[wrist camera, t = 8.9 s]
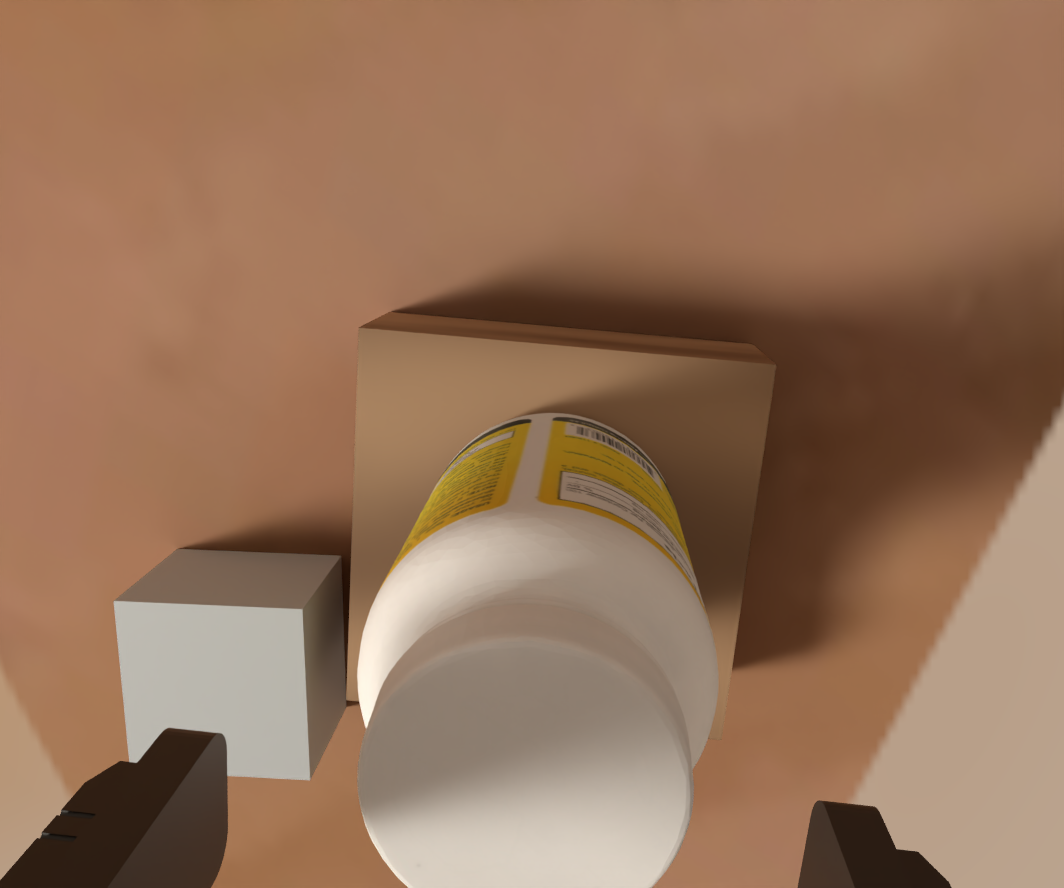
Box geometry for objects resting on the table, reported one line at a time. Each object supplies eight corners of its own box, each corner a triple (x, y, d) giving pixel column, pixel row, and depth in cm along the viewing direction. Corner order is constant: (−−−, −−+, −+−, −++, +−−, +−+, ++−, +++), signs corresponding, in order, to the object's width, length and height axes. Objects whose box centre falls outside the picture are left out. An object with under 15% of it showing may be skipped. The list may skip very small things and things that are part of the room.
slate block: (179, 547, 28) (113, 600, 24) (342, 553, 28) (302, 609, 24) (190, 696, 30) (130, 770, 26) (347, 704, 29) (310, 780, 25)
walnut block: (389, 312, 26) (358, 327, 23) (752, 343, 26) (776, 364, 22) (376, 641, 28) (346, 700, 25) (706, 675, 28) (721, 740, 25)
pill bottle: (444, 646, 24) (326, 987, 14) (418, 415, 23) (265, 596, 12) (683, 635, 24) (755, 981, 13) (673, 399, 22) (744, 572, 12)
